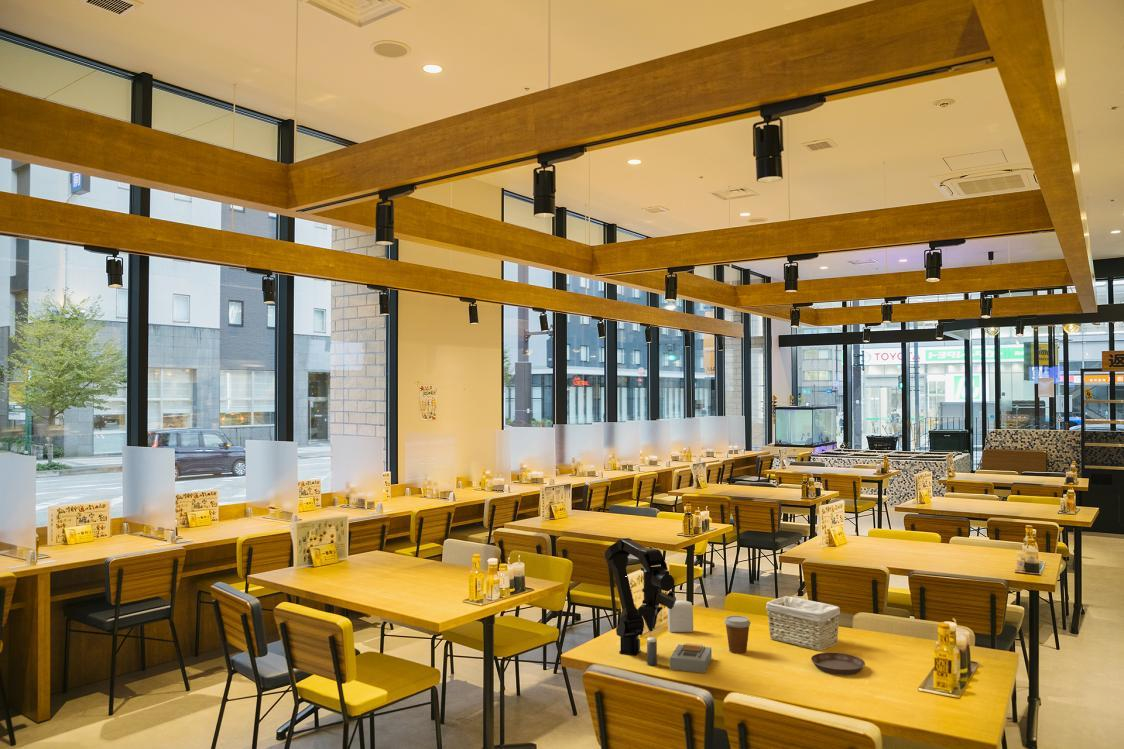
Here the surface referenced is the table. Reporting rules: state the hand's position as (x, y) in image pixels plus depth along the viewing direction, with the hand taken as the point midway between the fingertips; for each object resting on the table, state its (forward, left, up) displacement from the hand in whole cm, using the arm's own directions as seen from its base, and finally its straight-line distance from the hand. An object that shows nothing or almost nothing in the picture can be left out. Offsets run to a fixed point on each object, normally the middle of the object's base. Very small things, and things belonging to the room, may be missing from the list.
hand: (652, 629), depth 266 cm
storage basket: (+50, +45, -12) cm, 68 cm away
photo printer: (+2, +44, -12) cm, 46 cm away
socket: (+13, +5, -12) cm, 18 cm away
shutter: (+13, +9, -8) cm, 18 cm away
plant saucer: (+62, +17, -12) cm, 65 cm away
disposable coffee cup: (+27, +25, -12) cm, 39 cm away
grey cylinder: (0, 0, -12) cm, 12 cm away
